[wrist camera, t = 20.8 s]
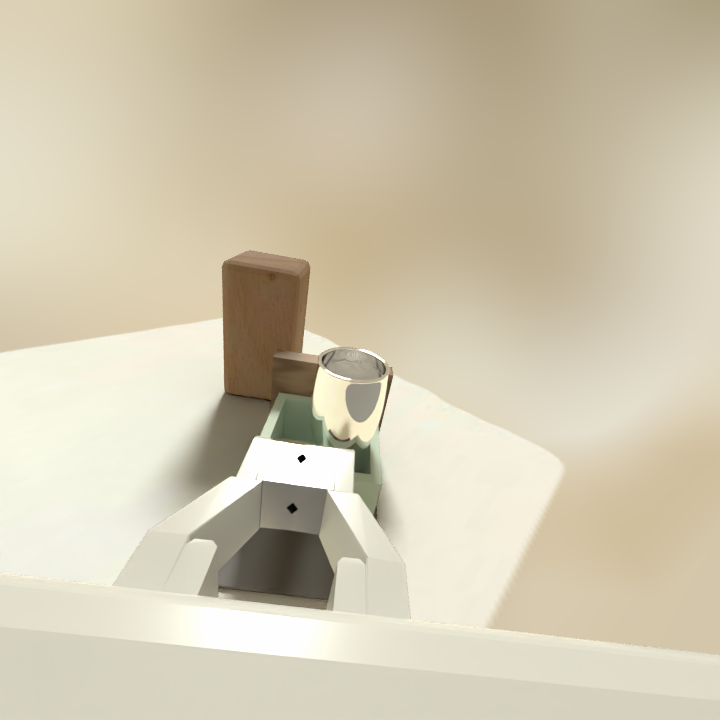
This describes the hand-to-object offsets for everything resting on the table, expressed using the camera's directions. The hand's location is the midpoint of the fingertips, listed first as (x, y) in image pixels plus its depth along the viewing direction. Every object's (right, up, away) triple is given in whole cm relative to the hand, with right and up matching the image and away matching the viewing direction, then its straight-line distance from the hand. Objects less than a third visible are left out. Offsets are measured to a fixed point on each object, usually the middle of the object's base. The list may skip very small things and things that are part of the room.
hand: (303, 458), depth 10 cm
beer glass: (-1, -11, +26) cm, 29 cm away
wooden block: (-14, -1, +44) cm, 46 cm away
